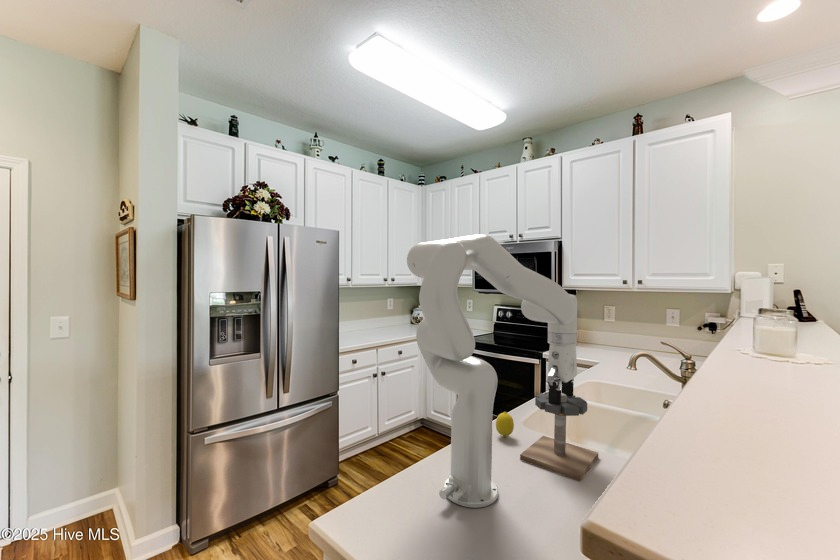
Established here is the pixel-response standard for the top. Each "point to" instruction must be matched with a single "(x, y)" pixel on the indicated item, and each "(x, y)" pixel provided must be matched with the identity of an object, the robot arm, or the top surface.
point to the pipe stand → (560, 452)
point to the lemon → (504, 424)
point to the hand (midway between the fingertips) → (561, 399)
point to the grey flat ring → (562, 405)
